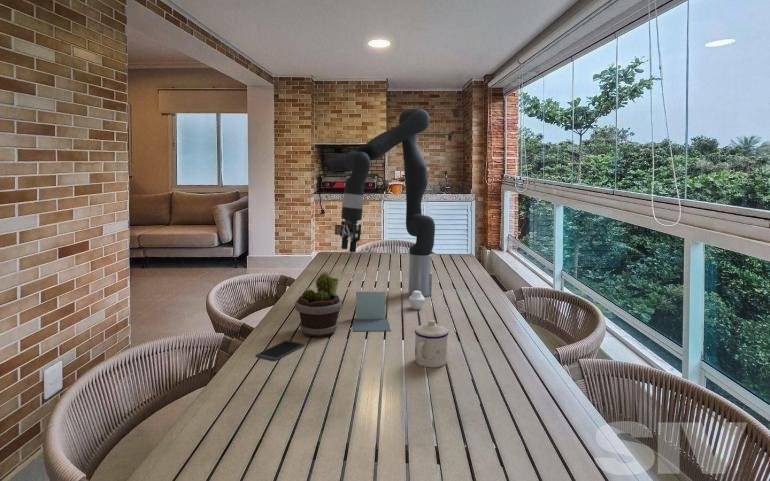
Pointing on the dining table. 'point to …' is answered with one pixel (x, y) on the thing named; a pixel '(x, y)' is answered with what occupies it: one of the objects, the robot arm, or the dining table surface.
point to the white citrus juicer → (416, 300)
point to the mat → (370, 325)
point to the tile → (370, 304)
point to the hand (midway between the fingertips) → (348, 250)
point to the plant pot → (333, 285)
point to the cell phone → (280, 350)
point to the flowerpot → (319, 309)
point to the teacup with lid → (431, 345)
